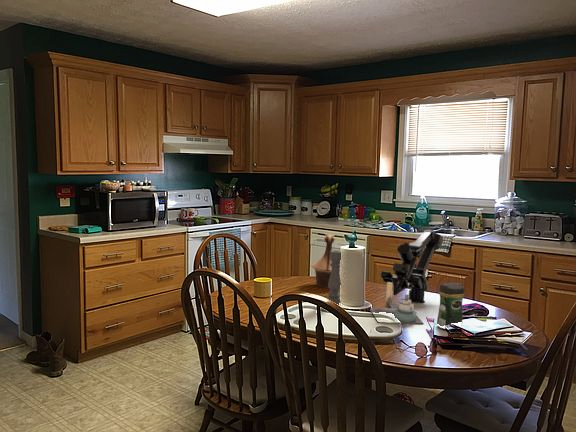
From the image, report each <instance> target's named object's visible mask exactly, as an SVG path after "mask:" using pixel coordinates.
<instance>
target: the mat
mask: <svg viewBox="0 0 576 432" xmlns="http://www.w3.org/2000/svg"><path fill="white" fill-rule="evenodd" d="M370 308H371V309H370V310H369V311H370V312H375V313H379V312H386V313H392V314H394V313H395V310H397V308H386V307H385V308H384V307H383V308H382V307H370ZM400 322H401V321H400ZM401 324H405V325H407V324H408V325H424V322H423V320H422V319H420V318H419V316H418V315H417V314H416V321H415V322H401ZM401 324H400V325H401Z"/></svg>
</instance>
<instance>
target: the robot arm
mask: <svg viewBox="0 0 576 432" xmlns="http://www.w3.org/2000/svg"><path fill="white" fill-rule="evenodd" d="M443 243H444V237H443V236H442V235H441V234H439V233H437V232H435V231H434V230H430V229H425V230H423V231H422V233H421V235H420V236H419V237H418V238H417V239H415V241H413V242H410V243H409V242H403V243H402V244H401V245H399V246H398V247H397V250H396V251H397V253H398V255H399V259H400V260H401V261H402V262H401V263H396V262H394V263H393V266H392V269H391V270H392V271H394V272H393V273H394V274H392V273H391V271H387V270H382V271H381V272H380V274H379V275H380V277H381V279H382V281H383V282H384V283H387V282H392V283H393V292H392V296H397V295H398V294H400V293H401V292H402V291H404V290H406V289H409V290H408V299H409V300H411V303H412V302H413V303H425V302H426V301H425V291H428V287H429V284H428V280H427V276H426V272H427V269H428V267H429V265H430V263H431V260H432V257H433V255H434V253H435V251H437V250H439V249H440V248H441V246H442V244H443ZM417 258H418V259H419V261H418V263H417V260H416V259H417Z"/></svg>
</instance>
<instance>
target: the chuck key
mask: <svg viewBox="0 0 576 432" xmlns="http://www.w3.org/2000/svg"><path fill="white" fill-rule="evenodd" d="M393 289H394V284H393V282H386V292H385V309H392V308H393V309H398V312H401V313H405V314H411V313H413V311H415V309H414V308H415V307H414V306H415V304H414V303H412V302H411V300H409V298H408V297H409V293H408V294H407V293H406V294H405V295H404V298H402V299H401V301H400V302H398V303H397V304H396V303H393Z"/></svg>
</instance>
